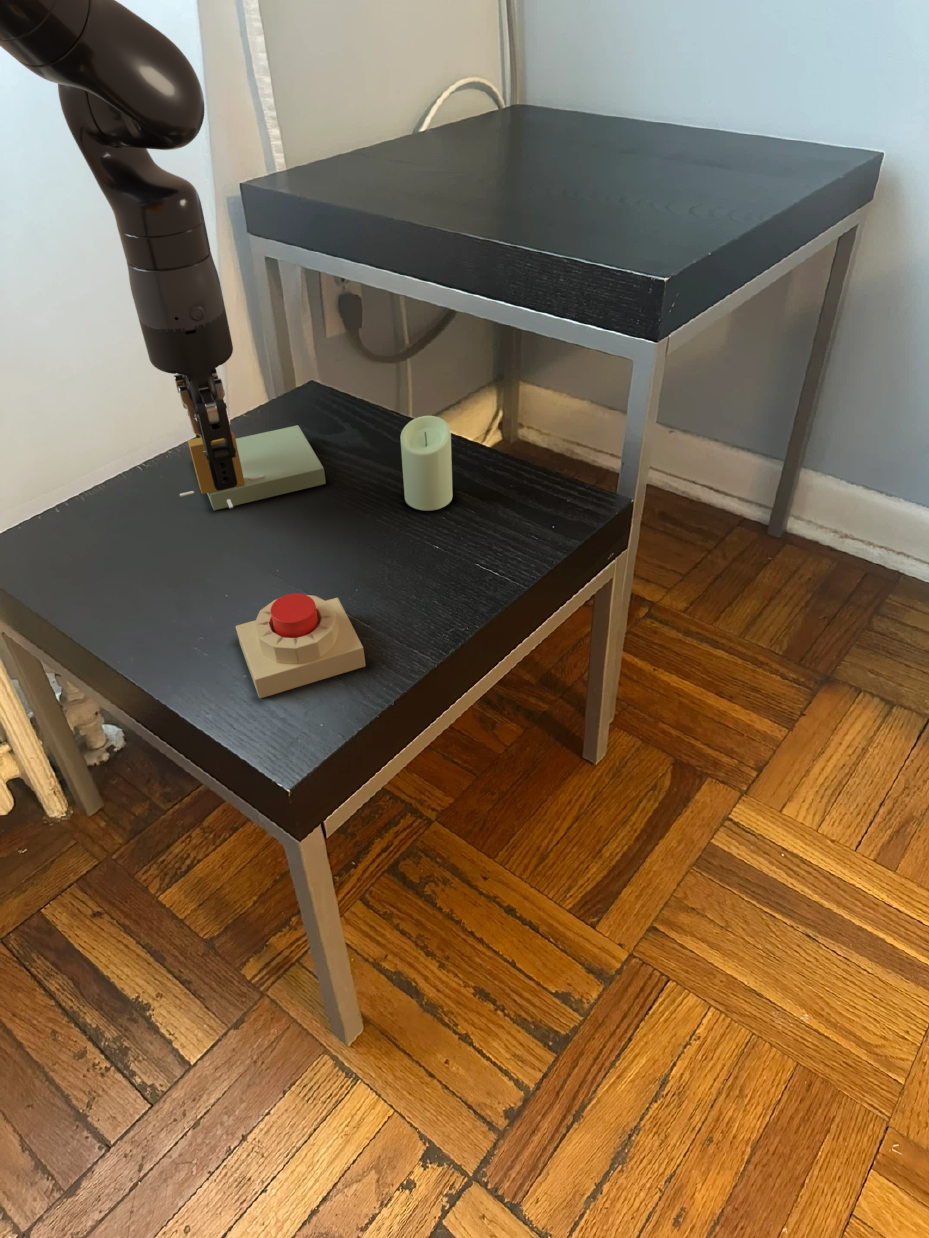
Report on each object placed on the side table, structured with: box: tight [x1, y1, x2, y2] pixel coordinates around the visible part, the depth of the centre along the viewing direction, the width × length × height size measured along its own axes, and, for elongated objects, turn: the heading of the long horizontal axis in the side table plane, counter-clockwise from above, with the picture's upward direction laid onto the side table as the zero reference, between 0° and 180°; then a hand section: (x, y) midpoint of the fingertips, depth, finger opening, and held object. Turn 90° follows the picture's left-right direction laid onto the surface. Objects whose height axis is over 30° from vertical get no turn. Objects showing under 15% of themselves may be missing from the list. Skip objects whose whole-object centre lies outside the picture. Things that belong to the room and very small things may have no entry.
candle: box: [400, 415, 453, 512], centre depth 89 cm, size 5×5×8 cm
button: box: [270, 593, 318, 638], centre depth 71 cm, size 4×4×2 cm
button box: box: [235, 594, 366, 699], centre depth 73 cm, size 9×7×4 cm
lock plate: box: [179, 425, 327, 511], centre depth 93 cm, size 15×13×2 cm
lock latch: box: [187, 430, 245, 495], centre depth 88 cm, size 4×1×6 cm, turn 113°
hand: (218, 468), depth 89 cm, fingers open, 7 cm apart
